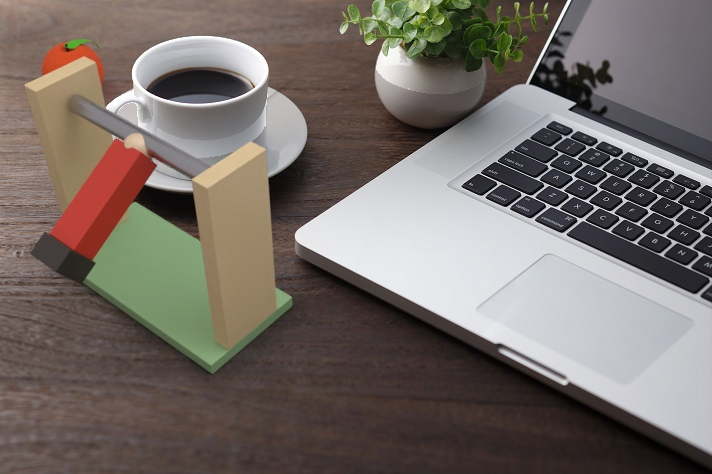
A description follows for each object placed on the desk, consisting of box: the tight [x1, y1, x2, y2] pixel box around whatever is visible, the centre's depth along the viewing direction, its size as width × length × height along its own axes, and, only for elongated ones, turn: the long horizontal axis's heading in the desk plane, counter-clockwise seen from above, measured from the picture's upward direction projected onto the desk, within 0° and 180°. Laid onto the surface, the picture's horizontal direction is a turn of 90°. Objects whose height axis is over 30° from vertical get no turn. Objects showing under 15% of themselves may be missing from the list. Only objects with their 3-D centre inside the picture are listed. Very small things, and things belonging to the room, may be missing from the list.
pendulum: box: [29, 94, 213, 285], centre depth 64 cm, size 17×3×13 cm
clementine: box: [40, 38, 105, 87], centre depth 96 cm, size 8×7×7 cm
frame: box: [23, 57, 293, 375], centre depth 69 cm, size 21×10×18 cm, turn 52°
